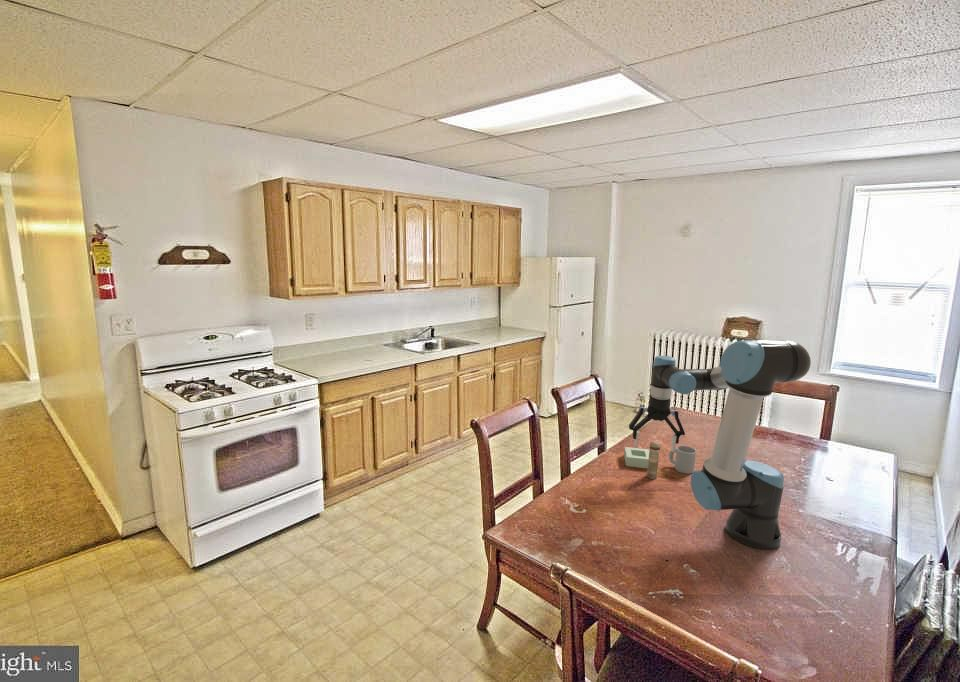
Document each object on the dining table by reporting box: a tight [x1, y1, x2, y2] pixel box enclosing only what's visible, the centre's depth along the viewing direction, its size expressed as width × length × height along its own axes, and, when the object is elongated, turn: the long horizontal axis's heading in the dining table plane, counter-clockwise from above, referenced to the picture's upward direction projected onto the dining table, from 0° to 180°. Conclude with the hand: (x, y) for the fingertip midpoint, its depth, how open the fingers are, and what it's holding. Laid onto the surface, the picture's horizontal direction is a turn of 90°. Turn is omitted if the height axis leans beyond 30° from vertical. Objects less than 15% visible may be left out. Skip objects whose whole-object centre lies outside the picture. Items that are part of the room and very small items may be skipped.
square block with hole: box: [623, 446, 650, 469], centre depth 197 cm, size 10×10×4 cm
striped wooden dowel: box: [646, 441, 661, 480], centre depth 184 cm, size 4×4×14 cm
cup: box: [668, 445, 697, 475], centre depth 192 cm, size 7×10×9 cm
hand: (654, 448), depth 184 cm, fingers open, 13 cm apart
